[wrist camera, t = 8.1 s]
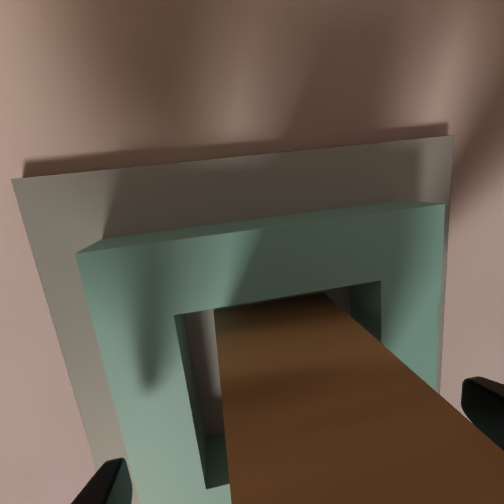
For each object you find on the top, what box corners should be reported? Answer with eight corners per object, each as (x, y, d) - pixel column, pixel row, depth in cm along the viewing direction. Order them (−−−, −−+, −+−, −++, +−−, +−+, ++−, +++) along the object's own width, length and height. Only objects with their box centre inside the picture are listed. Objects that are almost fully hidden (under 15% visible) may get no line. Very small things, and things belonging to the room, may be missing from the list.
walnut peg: (328, 386, 12) (577, 784, 4) (227, 408, 11) (287, 918, 3) (323, 292, 11) (641, 571, 3) (213, 311, 10) (252, 712, 2)
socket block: (428, 449, 14) (475, 504, 12) (121, 528, 12) (101, 614, 10) (442, 137, 11) (512, 123, 8) (21, 179, 9) (-48, 177, 6)
